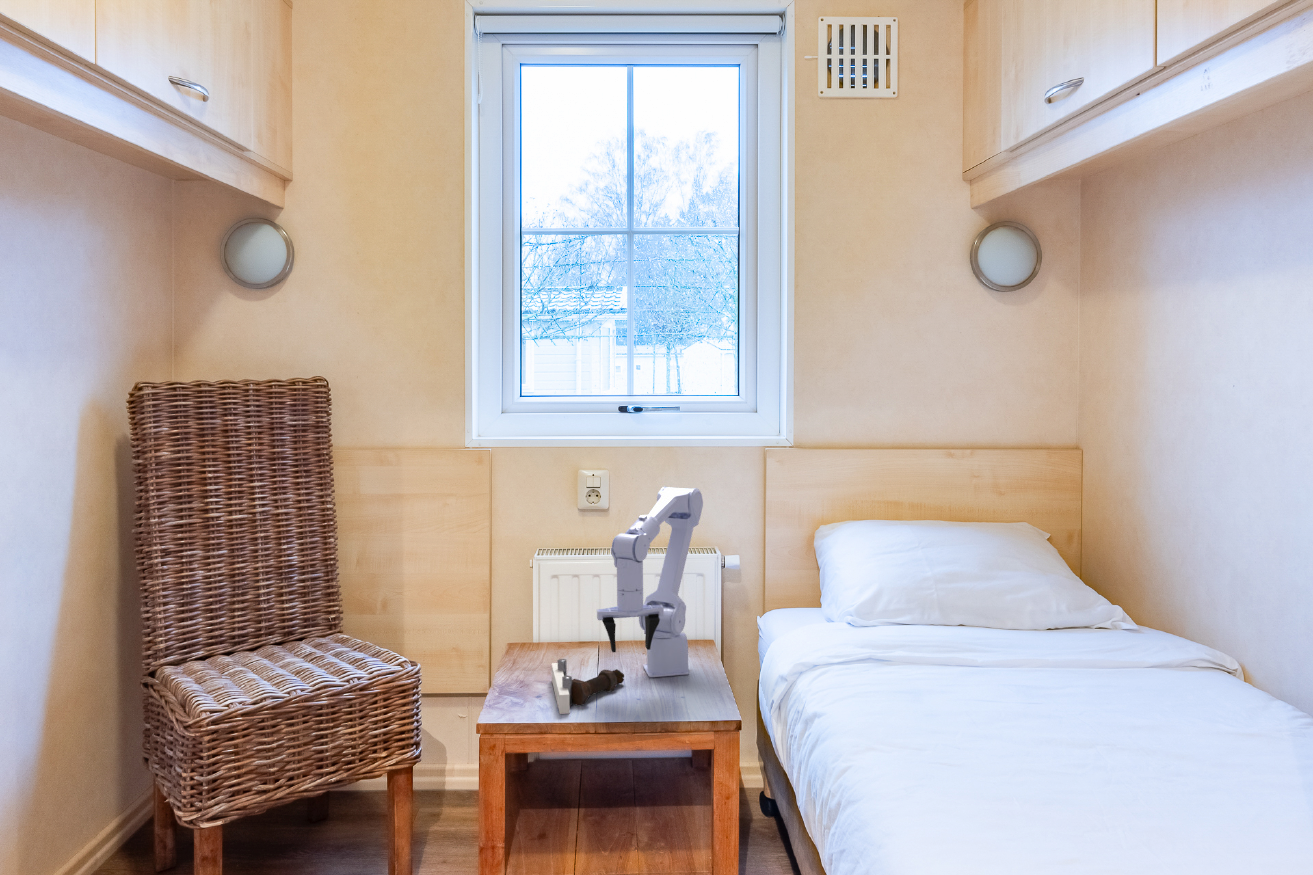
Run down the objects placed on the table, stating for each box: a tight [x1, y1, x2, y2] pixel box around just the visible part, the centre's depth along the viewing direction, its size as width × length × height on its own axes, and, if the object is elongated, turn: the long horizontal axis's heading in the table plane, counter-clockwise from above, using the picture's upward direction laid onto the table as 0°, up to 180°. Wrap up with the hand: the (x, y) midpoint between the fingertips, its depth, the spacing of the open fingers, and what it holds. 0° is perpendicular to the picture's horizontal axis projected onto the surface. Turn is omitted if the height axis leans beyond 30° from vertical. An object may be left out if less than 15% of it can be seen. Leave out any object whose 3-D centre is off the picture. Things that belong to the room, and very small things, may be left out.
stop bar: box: [551, 658, 573, 715], centre depth 178 cm, size 3×20×6 cm, turn 12°
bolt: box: [572, 669, 625, 707], centre depth 180 cm, size 6×5×15 cm
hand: (630, 649), depth 180 cm, fingers open, 7 cm apart
